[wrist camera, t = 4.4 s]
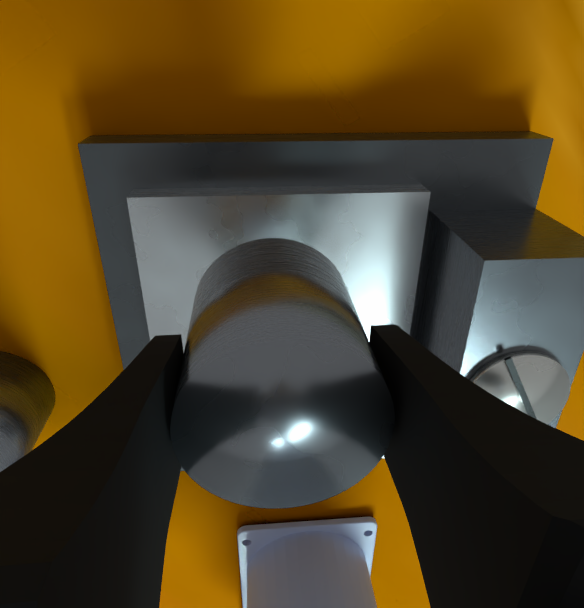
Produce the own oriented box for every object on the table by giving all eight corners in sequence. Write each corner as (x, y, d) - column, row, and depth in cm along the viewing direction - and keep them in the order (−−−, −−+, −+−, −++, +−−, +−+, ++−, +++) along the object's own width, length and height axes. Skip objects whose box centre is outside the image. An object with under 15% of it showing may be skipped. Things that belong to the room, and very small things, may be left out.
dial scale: (460, 430, 25) (522, 542, 20) (150, 449, 24) (121, 574, 18) (531, 131, 18) (660, 172, 12) (90, 135, 17) (13, 184, 11)
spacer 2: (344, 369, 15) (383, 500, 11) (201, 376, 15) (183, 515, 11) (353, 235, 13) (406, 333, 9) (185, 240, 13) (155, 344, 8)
